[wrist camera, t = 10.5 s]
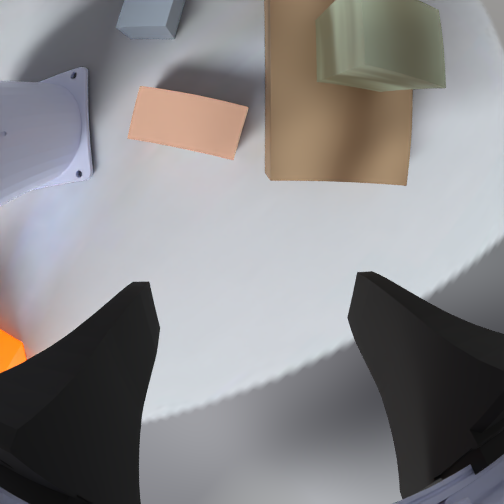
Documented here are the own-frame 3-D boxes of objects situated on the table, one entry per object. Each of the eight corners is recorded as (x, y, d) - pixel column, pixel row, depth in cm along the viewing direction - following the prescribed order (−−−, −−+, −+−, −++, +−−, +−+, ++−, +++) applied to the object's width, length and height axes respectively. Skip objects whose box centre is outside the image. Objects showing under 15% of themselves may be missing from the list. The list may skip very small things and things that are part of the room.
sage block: (316, 81, 13) (364, 64, 8) (315, 20, 11) (358, -21, 6) (380, 91, 13) (445, 88, 8) (378, 33, 12) (438, 9, 6)
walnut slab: (265, 172, 18) (270, 180, 15) (263, -31, 11) (268, -48, 9) (387, 177, 18) (406, 185, 16) (385, -7, 12) (402, -17, 9)
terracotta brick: (142, 135, 16) (127, 138, 13) (153, 91, 15) (140, 86, 12) (232, 154, 17) (233, 160, 15) (245, 109, 16) (248, 107, 13)
